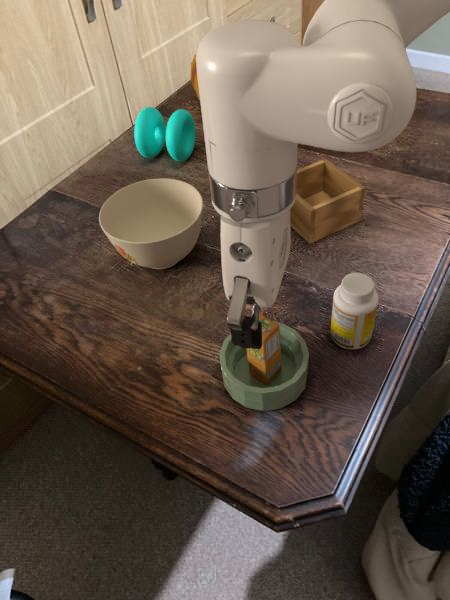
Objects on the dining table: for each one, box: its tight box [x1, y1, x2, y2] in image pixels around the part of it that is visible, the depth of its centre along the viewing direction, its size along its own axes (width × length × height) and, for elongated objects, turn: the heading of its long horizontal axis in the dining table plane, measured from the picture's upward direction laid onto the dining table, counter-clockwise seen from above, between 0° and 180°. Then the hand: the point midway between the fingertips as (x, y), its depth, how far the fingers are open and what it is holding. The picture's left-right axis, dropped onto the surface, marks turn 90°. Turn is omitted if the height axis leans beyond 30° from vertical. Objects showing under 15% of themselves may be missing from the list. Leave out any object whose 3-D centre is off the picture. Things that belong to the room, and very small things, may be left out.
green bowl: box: [218, 320, 310, 412], centre depth 63 cm, size 11×11×4 cm
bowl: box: [98, 177, 204, 270], centre depth 79 cm, size 16×16×10 cm
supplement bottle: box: [329, 272, 380, 350], centre depth 64 cm, size 6×6×10 cm
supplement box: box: [247, 312, 282, 386], centre depth 61 cm, size 3×3×10 cm
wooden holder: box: [290, 158, 366, 245], centre depth 83 cm, size 11×11×7 cm
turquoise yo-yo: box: [133, 106, 196, 163], centre depth 100 cm, size 10×10×10 cm
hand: (258, 311), depth 56 cm, fingers open, 9 cm apart
